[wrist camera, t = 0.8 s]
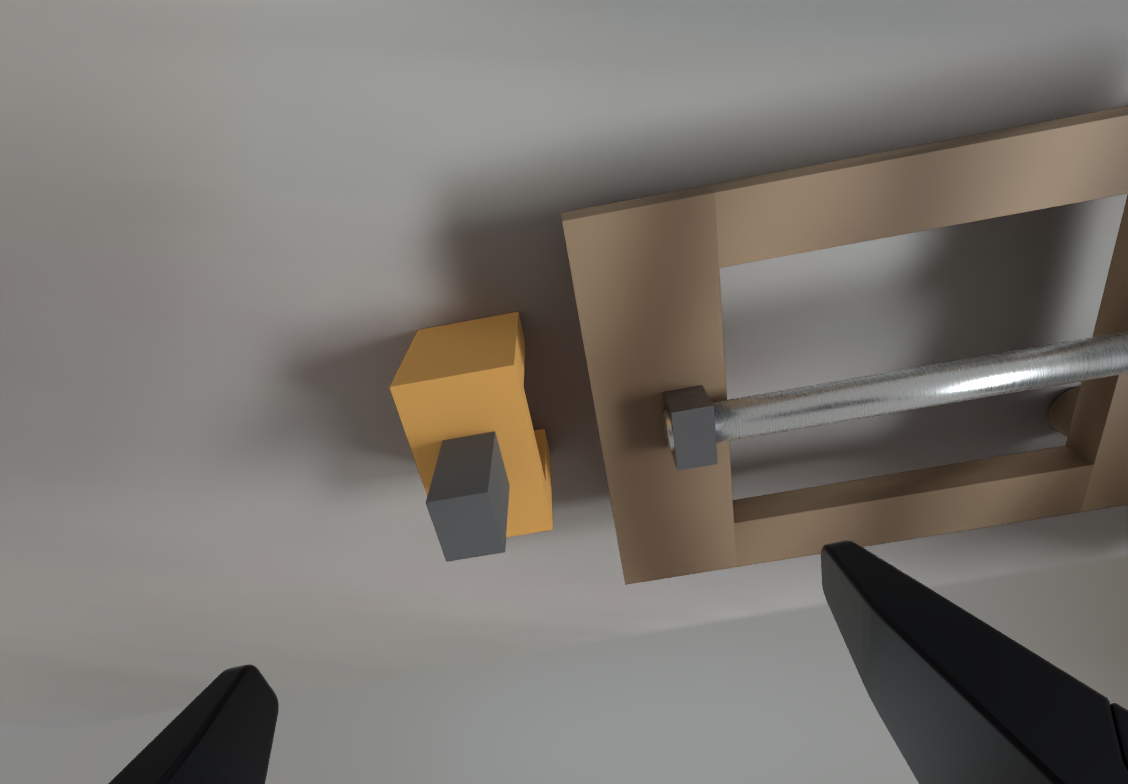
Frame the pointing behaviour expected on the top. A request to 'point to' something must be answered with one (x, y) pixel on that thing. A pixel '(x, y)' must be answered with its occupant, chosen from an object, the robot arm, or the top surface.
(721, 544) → the wooden frame with rod
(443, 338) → the yellow block
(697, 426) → the silver metal rod
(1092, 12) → the top surface
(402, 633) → the top surface
